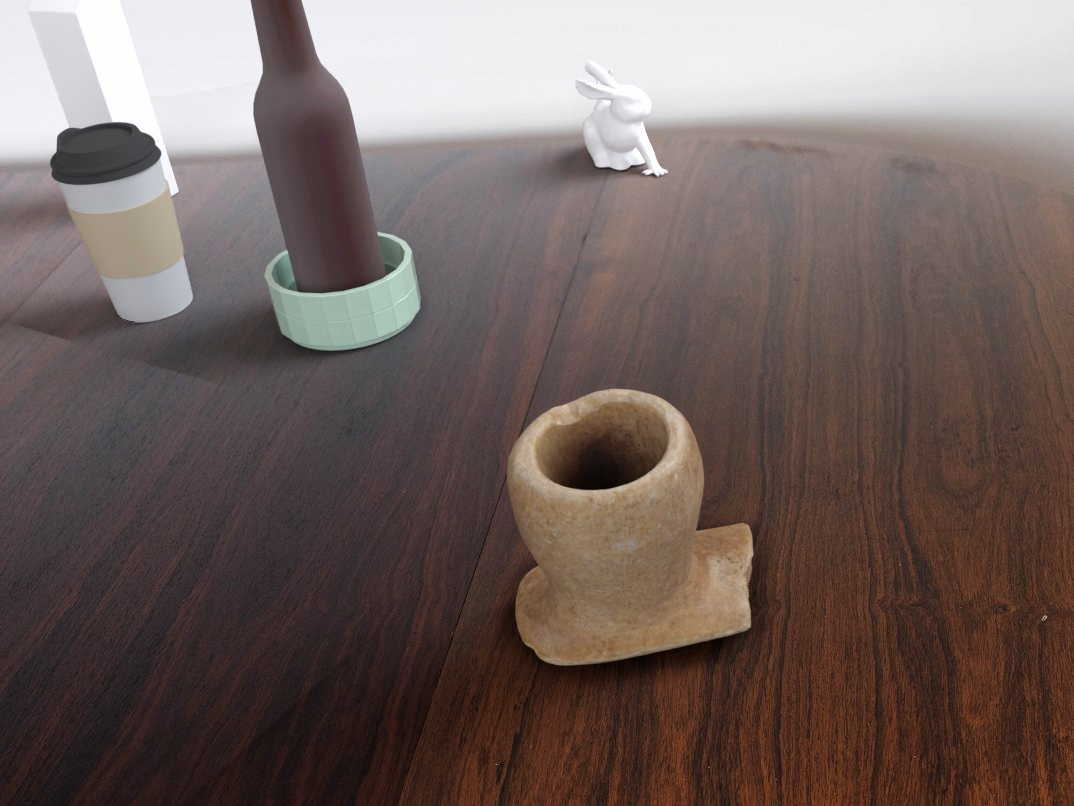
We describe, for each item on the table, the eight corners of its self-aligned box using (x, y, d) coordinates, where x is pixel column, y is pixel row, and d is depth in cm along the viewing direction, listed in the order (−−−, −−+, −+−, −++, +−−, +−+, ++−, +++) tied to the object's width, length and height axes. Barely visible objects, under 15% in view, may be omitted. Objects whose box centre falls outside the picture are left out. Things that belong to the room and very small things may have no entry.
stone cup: (530, 713, 73) (493, 491, 63) (511, 587, 82) (475, 373, 72) (792, 671, 74) (797, 444, 64) (746, 550, 83) (743, 333, 72)
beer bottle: (362, 283, 114) (274, -111, 94) (409, 309, 110) (328, -99, 89) (288, 314, 111) (180, -87, 91) (334, 342, 107) (232, -73, 86)
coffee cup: (223, 283, 118) (171, 112, 108) (174, 330, 112) (114, 154, 102) (137, 279, 120) (78, 111, 110) (85, 325, 114) (17, 152, 104)
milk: (135, 187, 138) (57, -47, 122) (180, 192, 135) (107, -46, 120) (97, 210, 134) (12, -29, 118) (143, 216, 132) (63, -27, 116)
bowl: (250, 336, 110) (234, 280, 107) (344, 276, 117) (331, 222, 114) (359, 365, 105) (345, 307, 101) (450, 300, 112) (440, 244, 108)
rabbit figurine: (669, 175, 128) (664, 71, 121) (597, 191, 126) (588, 87, 120) (626, 137, 136) (620, 37, 129) (559, 152, 135) (548, 51, 128)
